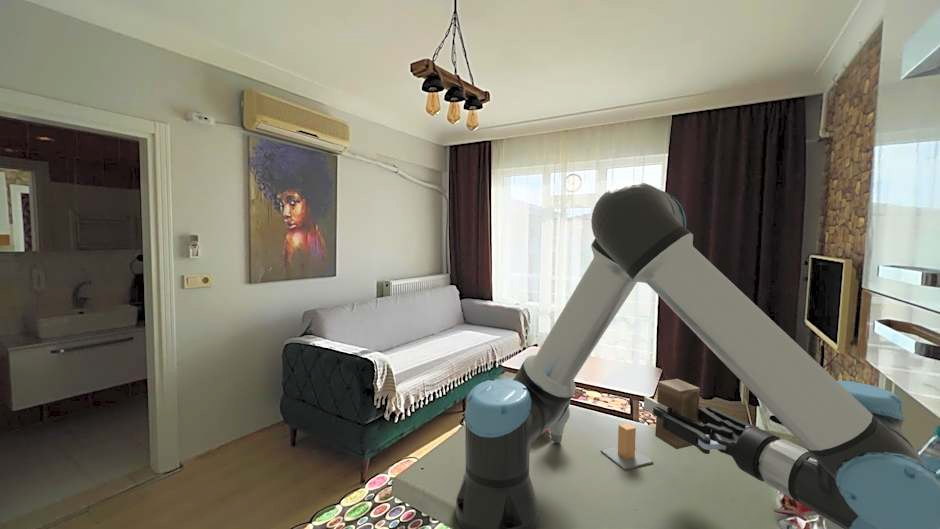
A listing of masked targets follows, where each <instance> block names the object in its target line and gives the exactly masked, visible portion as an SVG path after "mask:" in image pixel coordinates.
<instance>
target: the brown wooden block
mask: <svg viewBox="0 0 940 529" xmlns="http://www.w3.org/2000/svg"><path fill="white" fill-rule="evenodd" d="M700 390H701V389H700V387H698V386H696V385H694V384H690V383H689V382H687V381H684V380H681V379H680V378H674V379H667V380H666V379H665V380H661V381H660V380H659V381H657V396H656V397H657V400H656V401H657V402H659V403H661V404H663V405H665V406H667V407H669V408H672V409H673V412H674V413H676V414H679V415H682V416H684V417H687V418H690V419H692V420H695V421H697V422H698V409H699V406H700V392H701V391H700ZM654 433H655V435H654V437H656V438H657V439H659V440H661V441H662V442H664V443H665V444H667V445H669V446H671V447H672V448H673V449H675V450H680V449H684V448H687V447H693V446H694V445H692V444H690V443H689V442H687V441H685V440H683V439H682V438H680V437H678V436H676V435H674V434H673V433H671V432H669V431H667V430H666V429H664V428H662V419H660V418H658V417H657V416H655V432H654Z"/></svg>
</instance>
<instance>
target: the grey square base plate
mask: <svg viewBox="0 0 940 529" xmlns="http://www.w3.org/2000/svg"><path fill="white" fill-rule="evenodd" d="M636 431H637V430H636V427H635V426H633V425H631V424H630V423H629V422H625V423H620V424H618V430H617V432H618V435H617V438H618V440H617V445H615V446H612V447H608V448H604V449H600V452H601V453H602V454H604V455H605V456H606V457H607V458H608V459H610V460H611V461H612V462H614V463H615V464H616V465H618V466H619V467H620V468H622V469H623V470H624V471H626V470H630V469H635V468H638V467H642V466H647V465H651V464H654V461H653V460H651V459H650V458H649V457H647V456H646V455H644V454H643V453H642V452H640V451H639V450H637V449H636Z"/></svg>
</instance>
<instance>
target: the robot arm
mask: <svg viewBox="0 0 940 529" xmlns="http://www.w3.org/2000/svg"><path fill="white" fill-rule="evenodd" d="M590 221H591V229H592V233H593V236H594V240H593V242H592V243H591V244H590V248H591V251H592V254H593V258H592V260H591V262H590V263H589V265H588V267H587V268H586V270H585V272H584V274H583V275H582V277H581V279H580V280H579V281H578V284H577V285H576V287H575V289H574V291H573V292H572V294H571V296H570V298H569V299H568V300H567V302H566V304H565V306H564V308H563V309H562V310H561V313H560V315H558V318H557V319H556V321H555V323H554V325H553V326H552V328H551V330H550V331H549V332H548V335H547V336H546V338H545V340H544V341H543V342H542V344H541V347H540V348H539V350H538V351H537V354H535V355H529V356H527V357H526V358H525V359H524V360H523V362H522V364H521V366H520V367H519V369H518V371H517V372H516V374H515V376H514V377H513V379H510V378H494V379H493V380H490V379H489V380H485V381H483V382H481V383H480V382H479V383H478V384H476V385H475V386H474V387H472V389H470V391H469V393H468V394H467V398H466V404H465V409H464V410H465V411H464V421H465V422H464V423H465V472H464V475H463V478H462V480H461V484H460V487H459V489H458V492H457V495H456V500H455V518H456V521H457V523H458V525H459V527H460V528H461V529H536V528H537V525H538V522H539V502H538V497H537V495H536V493H535V489H534V486H533V482H532V479H531V476H530V450H531V449H530V447H531V445H532V444H533V443H534V442H535V441H537V439H539V438H540V437H541V436H543V435H544V433H546V431H547V430H548V429H549V428H550V427H551V426H553V425H554V424H555V423H557V422H558V421H560V420H561V419H562V417H563V416H564V415H565V413H566V411H567V409H568V407H569V408H570V405H571V399H572V397H573V396H574V395H575V394H576V390H577V387H576V383H575V379H576V377H577V375H578V374H579V373H580V371H581V369H582V368H583V366H584V364H585V363H586V362H587V360H588V359H589V357H590V355H591V353H592V352H593V351H594V349H595V348H596V346H597V345H598V343H599V342H600V339H601V338H602V337H603V335H604V334H605V332H606V331H607V329H608V328H609V326H610V325H611V323H612V322H613V321H614V319H615V317H616V316H617V314H618V313H619V311H620V309H621V307H622V306H623V305H624V304H625V302H626V301H627V299H628V297H629V296H630V294H631V293H632V291H633V289H634V287H635V286H636V285H637V283H644V284H647V285H648V286H649V287H650V288H651V289H652V291H653V292H654V293H656V294H657V295H658V297H660V299H661V300H662V301H663V302H664V303H665V304H666V305H667V306H668V307H669V308H670V309H671V310H672V311H673V312H674V314H676V315H677V316H678V318H680V319H681V321H682V322H684V324H685V325H686V326H688V328H689V329H690V330H691V331H692V332H693V333H694V334H695V335H696V336H697V337H698V338H699V339H700V340H701V341H702V342H703V343H704V344H705V345H706V346H707V347H708V348H709V349H710V351H712V352H713V353H714V355H715V356H716V357H717V358H718V359H719V360H720V361H721V362H722V363H723V364H724V365H725V366H726V367H727V368H728V369H729V370H730V371H731V372H732V374H734V375H735V376H736V378H738V380H739V381H740V382H741V383H743V385H745V387H746V388H747V389H748V390H749V391H750V392H751V393H752V394H753V395H754V396H755V397H756V398H757V400H758V401H760V403H762V404H763V406H764V407H765V408H767V410H769V412H770V413H771V414H772V415H773V416H774V417H775V418H776V419H777V420H778V421H779V422H780V423H781V424H782V425H783V426H784V427H785V428H786V429H787V430H788V431H789V433H791V434H792V435H793V437H794V438H795V439H797V441H798V442H799V443H800V444H801V445H802V446H803V447H802V446H801V445H798V444H796V443H794V442H791V441H789V440H787V439H785V438H783V439H782V438H780V437H779V436H777V435H775V434H773V433H770V432H768V431H766V430H763V429H762V428H760V427H759V426H756V425H754V424H750V423H748V422H745V421H744V420H740V419H738V418H736V417H734V416H732V415H730V414H728V413H725V412H723V411H721V410H719V409H717V408H715V407H713V406H710V405H706V406H705V407H703V406H702V405H699V409H698V422H697V421H695V420H692V419H690V418H687V417H684V416H682V415H679V414H676V413H674V412H673V409H672V408H669V407H667V406H665V405H663V404H661V403H659V402H657V400H656V399H654V398H651V397H649V396H647V395H646V396H644V398H643V410H645V411H646V412H648V413H650V414H652V415H653V416H655V417H656V416H657V417H658V418H660V419H662V428H664V429H666V430H667V431H669V432H671V433H673V434H674V435H676V436H678V437H680V438H682V439H683V440H685V441H687V442H689V443H690V444H692V445H693V446H694V447H696V448H697V450H699V451H700V453H701V452H702V453H703V454H706V455H710V453H711V450H717V451H718V452H720V453H722V454H726V455H728V456H730V457H731V458H732V459H733V460H734V462H735V464H736V466H737V467H738V469H739V470H741V471H743V472H744V473H746V474H748V475H750V476H752V477H753V478H754V479H756V480H758V481H760V482H764V483H765V484H766V485H767V486H770V487H771V488H773V489H775V490H776V491H778V492H779V493H782V494H784V495H785V496H787V497H788V499H790V500H794V501H796V502H797V503H799V504H801V505H803V506H804V507H806V508H808V509H810V510H812V511H813V512H814V513H817V514H818V515H820V516H822V517H823V518H824V519H826V520H828V521H830V522H831V523H833V524H835V525H837V526H838V527H840V528H842V529H940V478H939V477H938V476H937V475H936V474H935V473H934V471H932V470H931V469H930V468H929V467H928V466H927V463H925V461H923V459H922V458H921V456H920V455H919V454H918V453H917V451H916V449H915V448H914V447H913V445H912V444H911V442H910V441H909V440H908V438H907V437H906V435H905V434H904V433H903V431H902V427H903V422H905V417H904V416H903V415H904V414H903V413H904V408H903V407H904V404H903V400H902V398H901V397H900V396H898V395H897V394H895V393H893V392H892V391H891V390H887V389H885V388H881V387H878V386H875V385H871V384H867V383H862V382H857V381H848V380H837V379H836V378H834V377H833V376H832V375H831V374H830V373H829V372H828V371H826V369H825V368H824V367H823V366H821V364H819V363H818V362H817V361H816V360H815V359H814V358H813V357H812V356H811V355H810V354H809V353H808V352H807V351H805V350H804V349H803V348H802V347H801V346H800V345H799V344H798V343H797V342H796V341H795V340H794V339H793V338H791V336H790V335H789V334H788V333H787V332H785V331H784V330H783V329H782V328H781V327H780V326H779V325H777V323H776V322H775V321H774V320H772V319H771V318H770V316H768V315H767V314H766V313H765V312H764V311H763V310H762V309H761V308H760V307H759V306H758V305H756V304H755V303H754V301H752V300H751V299H750V297H748V296H747V295H745V293H744V292H743V291H742V290H741V289H740V288H738V287H737V286H736V285H735V284H734V283H733V282H732V281H731V280H729V278H728V277H727V276H726V275H724V274H723V273H722V271H720V270H719V269H718V268H717V267H716V266H715V265H714V264H713V263H712V262H711V261H710V260H708V258H706V257H705V256H704V255H703V254H702V253H701V252H700V251H699V250H698V249H697V248H696V247H694V244H693V243H694V242H693V241H694V234H693V233H692V232H691V231H690V230H688V229H687V228H686V227H687V218H686V214H685V211H684V209H683V206H682V205H681V204H680V202H679V201H678V199H676V197H674V196H673V195H671V194H669V193H668V192H666V190H665V191H663V190H661V189H659V188H657V187H655V186H653V185H651V184H648V183H645V182H640V181H629V182H623V183H620V184H617V185H615V186H613V187H611V188H610V189H608V190H607V191H605V192H604V193H603V194H602V195H601V196H600V197H599V198H598V201H596V203H595V205H594V208H593V210H592V213H591V220H590Z"/></svg>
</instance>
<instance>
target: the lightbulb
mask: <svg viewBox="0 0 940 529" xmlns="http://www.w3.org/2000/svg"><path fill="white" fill-rule="evenodd" d="M570 413H571V412H570V406H569V407H568V409H567V411H566V413H565V415H564V416H563V417H562V419H561V420H560V421H558V422H557V423H555V424H554V425H553V426H551V427H550V431H549V432H550V433H551V436H550V437H551V438H550V439H551V441H552V442H553V443H554V444H560V443H561V442H562V440H563V439H562V438H563V434H564V428H565V426H566V423H568V421H569V419H570V415H571V414H570Z"/></svg>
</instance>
